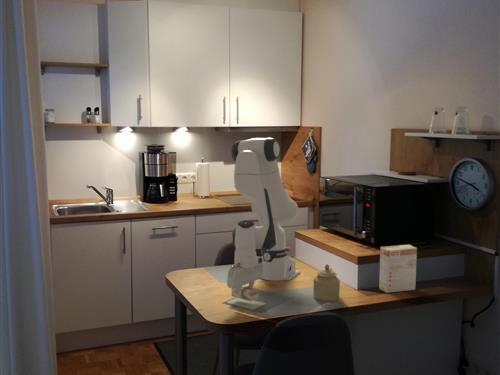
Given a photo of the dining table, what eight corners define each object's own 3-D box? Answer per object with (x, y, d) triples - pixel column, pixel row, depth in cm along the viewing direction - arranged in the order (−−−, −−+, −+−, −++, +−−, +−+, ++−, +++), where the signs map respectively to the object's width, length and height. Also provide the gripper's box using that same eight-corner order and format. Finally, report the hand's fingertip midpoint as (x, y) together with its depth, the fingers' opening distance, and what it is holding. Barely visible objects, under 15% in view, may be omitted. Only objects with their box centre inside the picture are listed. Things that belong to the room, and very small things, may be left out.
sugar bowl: (307, 291, 253) (308, 258, 251) (331, 290, 255) (332, 257, 253) (317, 303, 239) (318, 268, 237) (342, 301, 241) (344, 266, 239)
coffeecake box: (406, 285, 264) (408, 244, 261) (415, 290, 257) (417, 247, 254) (378, 288, 259) (379, 246, 256) (386, 293, 252) (388, 250, 250)
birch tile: (258, 298, 235) (258, 288, 234) (251, 301, 231) (251, 291, 230) (239, 293, 240) (239, 283, 240) (231, 296, 236) (231, 286, 236)
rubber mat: (255, 290, 255) (255, 288, 255) (293, 299, 243) (293, 297, 243) (221, 304, 236) (221, 302, 236) (261, 314, 224) (261, 313, 224)
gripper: (235, 267, 223) (235, 301, 225) (265, 257, 240) (265, 289, 241) (223, 264, 227) (223, 298, 229) (253, 255, 243) (253, 286, 245)
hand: (245, 293), depth 235 cm, fingers closed on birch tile, 5 cm apart
